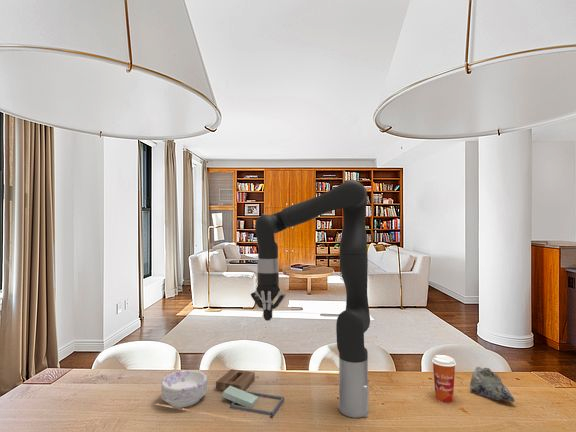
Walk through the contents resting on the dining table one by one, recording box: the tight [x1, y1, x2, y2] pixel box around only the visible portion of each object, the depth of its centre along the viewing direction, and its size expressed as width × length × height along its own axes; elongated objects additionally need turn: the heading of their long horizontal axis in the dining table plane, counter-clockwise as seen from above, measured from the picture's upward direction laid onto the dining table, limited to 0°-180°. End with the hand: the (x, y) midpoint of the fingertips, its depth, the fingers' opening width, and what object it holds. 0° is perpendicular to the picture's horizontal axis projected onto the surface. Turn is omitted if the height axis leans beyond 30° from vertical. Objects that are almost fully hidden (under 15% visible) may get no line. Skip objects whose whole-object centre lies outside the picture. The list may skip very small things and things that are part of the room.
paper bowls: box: [160, 369, 208, 409], centre depth 125 cm, size 15×15×8 cm
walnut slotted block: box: [215, 368, 256, 393], centre depth 135 cm, size 10×12×4 cm
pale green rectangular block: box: [221, 386, 259, 408], centre depth 123 cm, size 2×5×11 cm
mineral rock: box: [469, 366, 516, 403], centre depth 128 cm, size 13×11×10 cm
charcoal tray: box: [229, 390, 285, 419], centre depth 122 cm, size 15×11×2 cm
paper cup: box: [431, 354, 457, 403], centre depth 127 cm, size 8×8×14 cm
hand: (268, 320), depth 129 cm, fingers closed
